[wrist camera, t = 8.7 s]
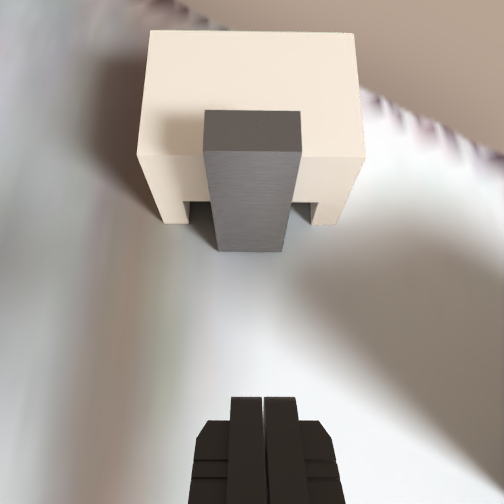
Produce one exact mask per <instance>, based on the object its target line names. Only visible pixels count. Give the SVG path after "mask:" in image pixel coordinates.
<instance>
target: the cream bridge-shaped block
mask: <svg viewBox="0 0 504 504" xmlns="http://www.w3.org/2000/svg"><path fill="white" fill-rule="evenodd" d="M205 110H267V111H301V133H302V156H301V160H300V165H299V170H298V175H297V180H296V185H295V189H294V194H293V199H292V202H310V209H311V225H336V223H337V221H338V219H339V217H340V214H341V212H342V210H343V208H344V206H345V203H346V201H347V199H348V197H349V194H350V192H351V190H352V188H353V185H354V183H355V181H356V179H357V177H358V174H359V172H360V170H361V168H362V165H363V163H364V161H365V159H366V152H365V142H364V132H363V122H362V112H361V102H360V92H359V82H358V73H357V63H356V53H355V44H354V34H353V33H343V32H337V33H336V32H274V31H272V32H271V31H270V32H269V31H204V30H160V31H155V30H150V39H149V48H148V57H147V66H146V75H145V84H144V93H143V102H142V111H141V120H140V129H139V138H138V147H137V157H138V160H139V162H140V165H141V167H142V170H143V172H144V175H145V177H146V180H147V182H148V185H149V187H150V190H151V192H152V195H153V197H154V200H155V202H156V205H157V207H158V210H159V212H160V215H161V217H162V220H163V222H164V224H189V210H190V201H210V195H209V189H208V182H207V176H206V169H205V163H204V156H203V133H204V113H205Z"/></svg>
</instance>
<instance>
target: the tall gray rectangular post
mask: <svg viewBox="0 0 504 504" xmlns="http://www.w3.org/2000/svg"><path fill="white" fill-rule="evenodd" d="M203 156H204V163H205V169H206V176H207V182H208V189H209V195H210V202H211V208H212V214H213V221H214V227H215V234H216V240H217V247H218V251H228V252H282V247H283V242H284V238H285V233H286V228H287V223H288V218H289V213H290V209H291V204H292V199H293V194H294V189H295V185H296V180H297V175H298V170H299V165H300V160H301V156H302V133H301V111H267V110H205V113H204V133H203Z"/></svg>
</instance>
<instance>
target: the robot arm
mask: <svg viewBox="0 0 504 504" xmlns="http://www.w3.org/2000/svg"><path fill="white" fill-rule="evenodd" d="M188 504H346V503H345V499H344V494H343V489H342V485H341V482H340V476H339V471H338V466H337V464H336V457H335V453H334V448H333V443H332V439H331V437H330V436H329V434H328V433H327V432H326V430H325V429H324V428H323V426H322V425H321V423H320V422H319V421H299V419H298V412H297V405H296V399H295V397H264V411H263V412H262V397H231V410H230V421H212V420H208V421H207V423H206V424H205V426H204V427H203V429H202V430H201V432H200V434H199V435H198V437H197V438H196V445H195V453H194V463H193V468H192V476H191V484H190V491H189V499H188Z"/></svg>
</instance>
